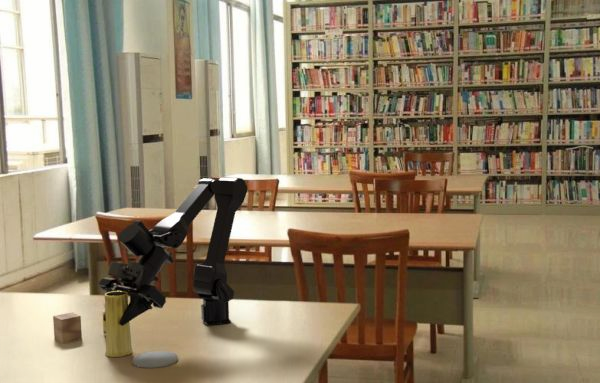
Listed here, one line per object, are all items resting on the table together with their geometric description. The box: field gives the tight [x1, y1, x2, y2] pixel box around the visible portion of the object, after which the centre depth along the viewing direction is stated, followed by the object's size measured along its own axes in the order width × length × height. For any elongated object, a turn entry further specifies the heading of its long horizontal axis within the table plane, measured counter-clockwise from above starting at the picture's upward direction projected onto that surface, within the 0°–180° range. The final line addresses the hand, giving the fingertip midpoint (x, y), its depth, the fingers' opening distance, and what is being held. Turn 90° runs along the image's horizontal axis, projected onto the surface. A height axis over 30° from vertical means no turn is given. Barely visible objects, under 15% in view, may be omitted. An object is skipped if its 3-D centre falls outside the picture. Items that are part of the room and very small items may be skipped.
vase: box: [104, 291, 133, 358], centre depth 174 cm, size 6×6×14 cm
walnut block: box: [52, 312, 83, 344], centre depth 186 cm, size 5×5×6 cm
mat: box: [132, 350, 179, 369], centre depth 168 cm, size 10×10×1 cm
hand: (112, 322), depth 172 cm, fingers closed on vase, 5 cm apart
